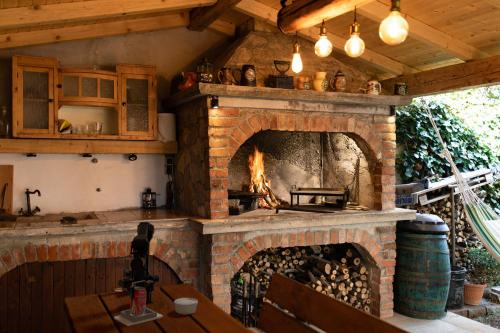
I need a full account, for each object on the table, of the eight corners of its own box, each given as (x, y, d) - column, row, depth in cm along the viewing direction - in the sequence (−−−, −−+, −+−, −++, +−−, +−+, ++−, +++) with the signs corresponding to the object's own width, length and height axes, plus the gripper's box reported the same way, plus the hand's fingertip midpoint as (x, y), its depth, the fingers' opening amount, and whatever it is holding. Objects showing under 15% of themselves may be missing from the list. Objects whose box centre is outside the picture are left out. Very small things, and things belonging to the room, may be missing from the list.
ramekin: (201, 310, 225) (201, 299, 225) (189, 317, 215) (189, 305, 215) (182, 306, 229) (182, 296, 229) (169, 313, 219) (169, 302, 219)
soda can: (130, 311, 214) (133, 285, 215) (145, 312, 215) (148, 286, 215) (127, 315, 207) (130, 289, 208) (143, 316, 208) (146, 290, 208)
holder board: (148, 310, 222) (148, 304, 222) (163, 317, 213) (163, 311, 213) (113, 318, 210) (114, 312, 210) (127, 326, 201) (128, 320, 201)
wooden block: (138, 293, 250) (138, 260, 250) (121, 291, 254) (122, 258, 254) (141, 291, 254) (142, 259, 254) (125, 289, 258) (126, 257, 257)
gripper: (148, 259, 224) (147, 291, 224) (112, 265, 211) (112, 299, 211) (160, 263, 216) (159, 296, 216) (124, 269, 203) (123, 304, 203)
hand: (139, 299), depth 212 cm, fingers closed on soda can, 7 cm apart
